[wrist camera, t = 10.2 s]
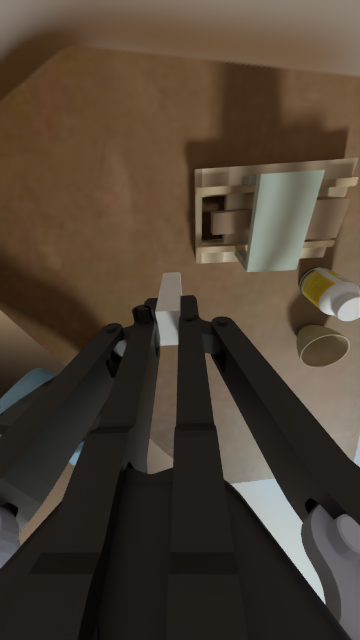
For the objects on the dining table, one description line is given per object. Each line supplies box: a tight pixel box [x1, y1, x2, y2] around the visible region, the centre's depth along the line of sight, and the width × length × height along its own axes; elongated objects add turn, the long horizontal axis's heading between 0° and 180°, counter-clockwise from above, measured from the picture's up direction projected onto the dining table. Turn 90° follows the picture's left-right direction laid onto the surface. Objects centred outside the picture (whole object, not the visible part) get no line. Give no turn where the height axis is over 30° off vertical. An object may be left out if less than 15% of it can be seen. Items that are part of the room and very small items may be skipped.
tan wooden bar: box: [211, 196, 351, 239], centre depth 30 cm, size 18×5×5 cm, turn 93°
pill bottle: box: [299, 267, 360, 321], centre depth 37 cm, size 6×6×12 cm
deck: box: [194, 158, 359, 272], centre depth 30 cm, size 23×14×12 cm, turn 93°
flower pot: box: [297, 325, 350, 368], centre depth 46 cm, size 10×10×7 cm
